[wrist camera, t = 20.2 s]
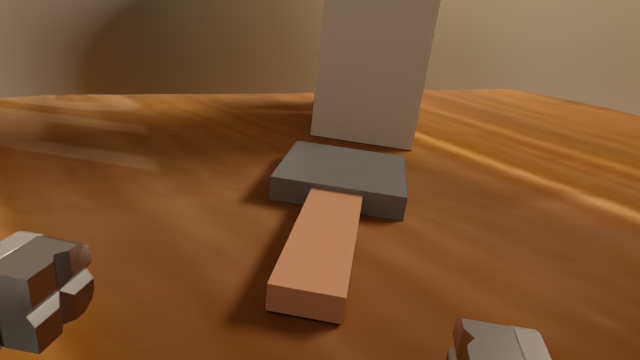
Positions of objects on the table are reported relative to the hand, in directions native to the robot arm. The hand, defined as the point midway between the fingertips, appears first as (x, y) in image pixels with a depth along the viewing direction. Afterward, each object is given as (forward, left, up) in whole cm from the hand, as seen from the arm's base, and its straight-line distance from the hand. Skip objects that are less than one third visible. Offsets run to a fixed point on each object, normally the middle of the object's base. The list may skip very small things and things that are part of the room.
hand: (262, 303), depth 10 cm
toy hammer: (+12, -8, -5) cm, 16 cm away
